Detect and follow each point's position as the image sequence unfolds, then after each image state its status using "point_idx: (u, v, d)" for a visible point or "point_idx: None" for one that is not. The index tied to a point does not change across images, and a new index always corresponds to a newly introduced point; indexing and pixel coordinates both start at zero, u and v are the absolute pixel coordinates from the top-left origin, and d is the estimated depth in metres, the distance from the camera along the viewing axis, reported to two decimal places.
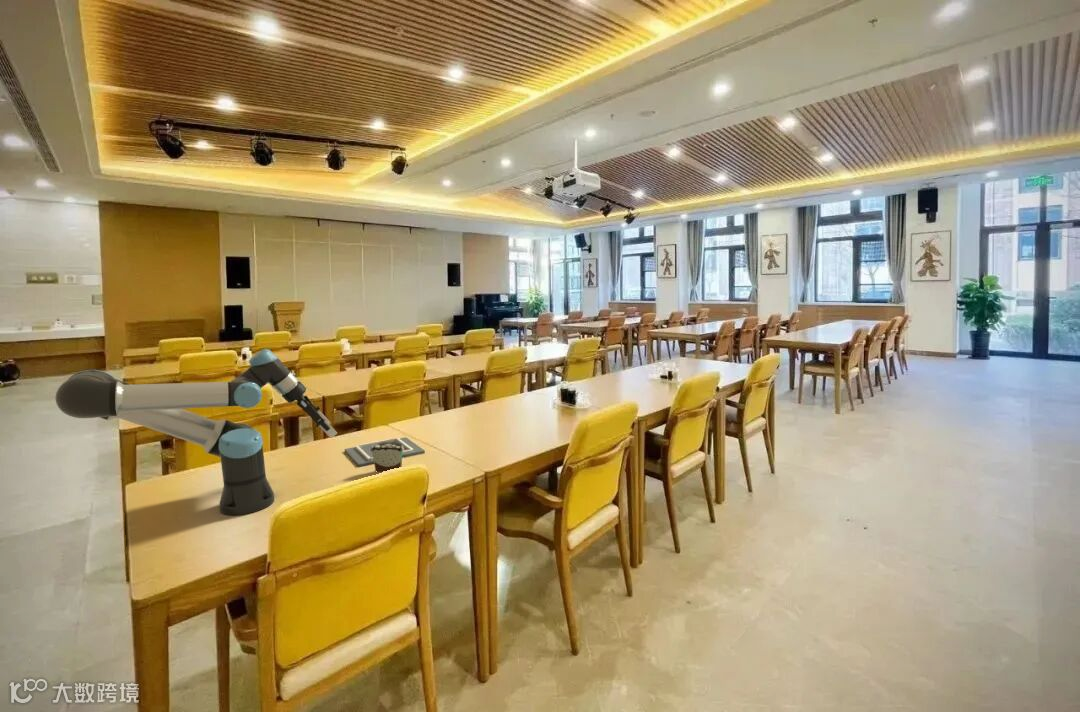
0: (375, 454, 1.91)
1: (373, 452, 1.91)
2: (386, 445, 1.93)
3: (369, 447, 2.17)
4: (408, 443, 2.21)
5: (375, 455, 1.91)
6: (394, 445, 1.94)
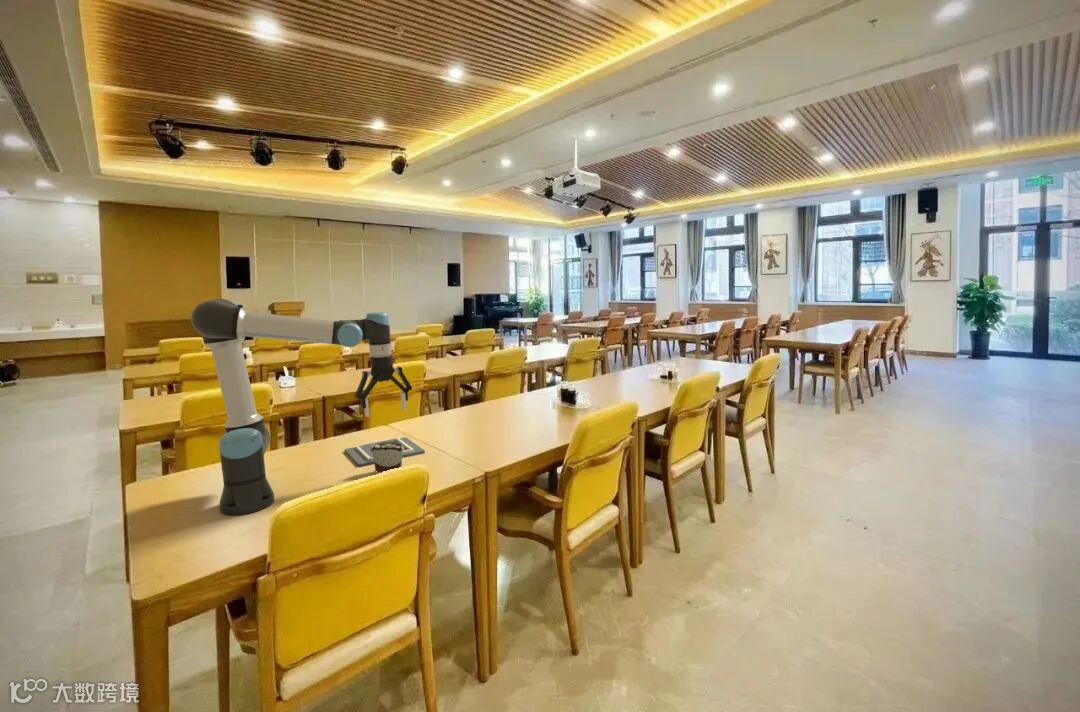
0: (375, 454, 1.91)
1: (373, 452, 1.91)
2: (386, 445, 1.93)
3: (369, 447, 2.17)
4: (408, 443, 2.21)
5: (375, 455, 1.91)
6: (394, 445, 1.94)
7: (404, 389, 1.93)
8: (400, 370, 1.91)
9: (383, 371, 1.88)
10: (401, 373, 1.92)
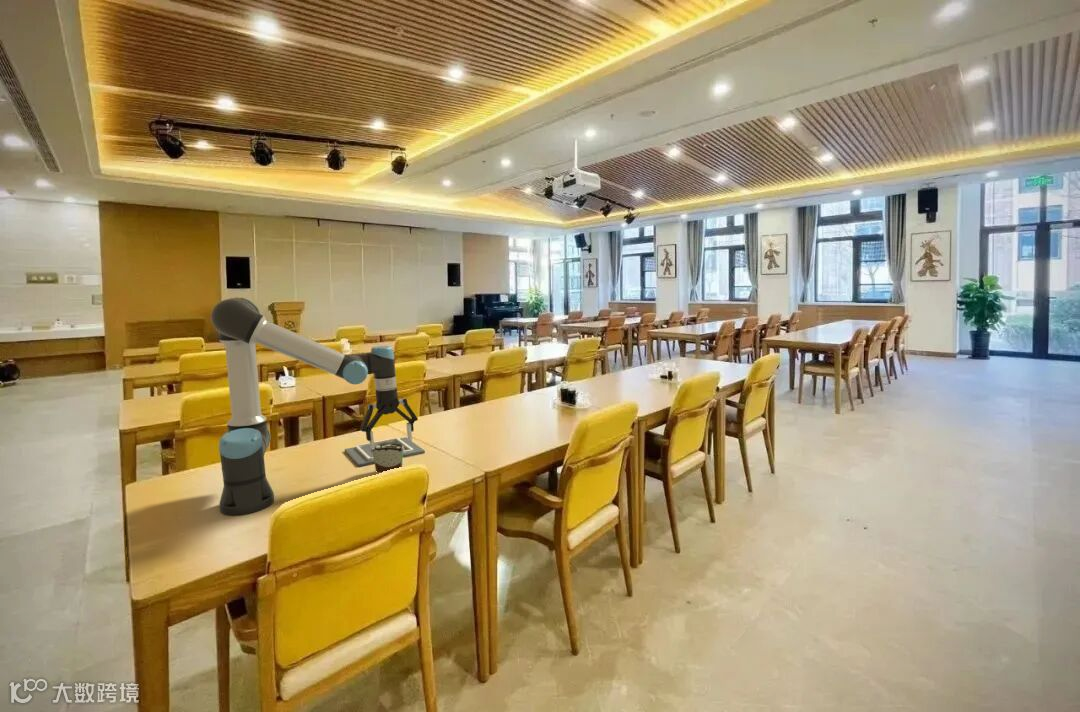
0: (375, 454, 1.91)
1: (373, 452, 1.91)
2: (386, 445, 1.93)
3: (369, 447, 2.17)
4: (408, 443, 2.21)
5: (376, 456, 1.91)
6: (394, 445, 1.94)
7: (410, 420, 1.95)
8: (405, 402, 1.93)
9: (388, 404, 1.90)
10: (406, 405, 1.93)
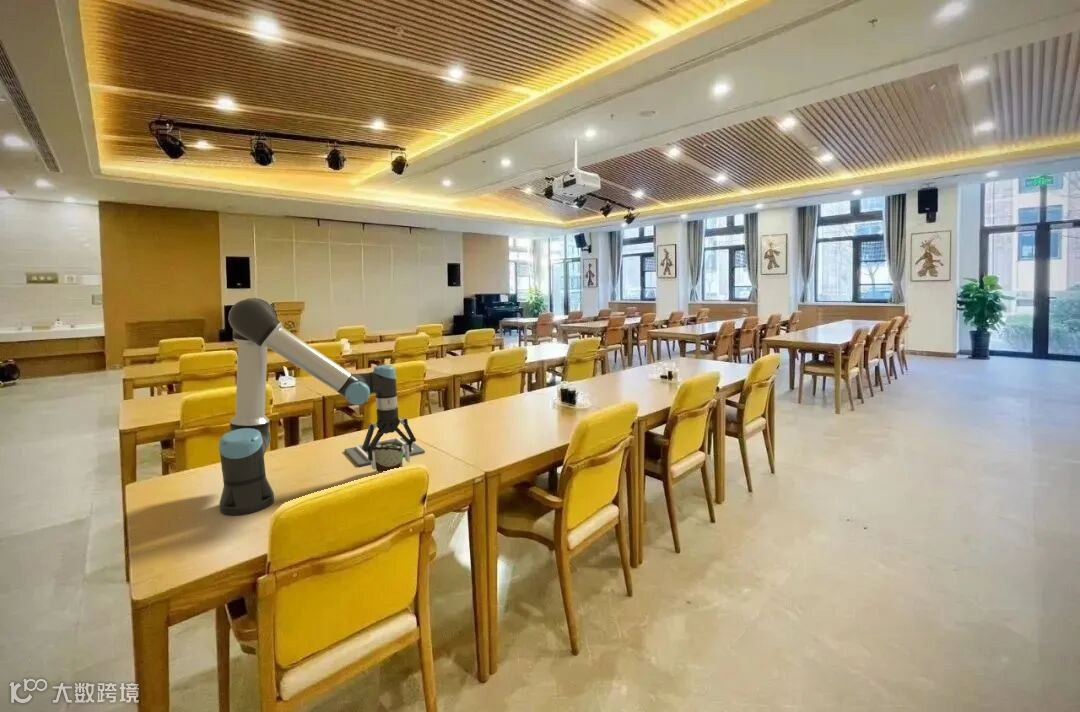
0: (376, 454, 1.91)
1: None
2: (387, 445, 1.93)
3: None
4: None
5: (376, 455, 1.91)
6: (395, 445, 1.94)
7: (408, 441, 1.96)
8: (405, 422, 1.94)
9: (389, 423, 1.91)
10: (406, 425, 1.94)
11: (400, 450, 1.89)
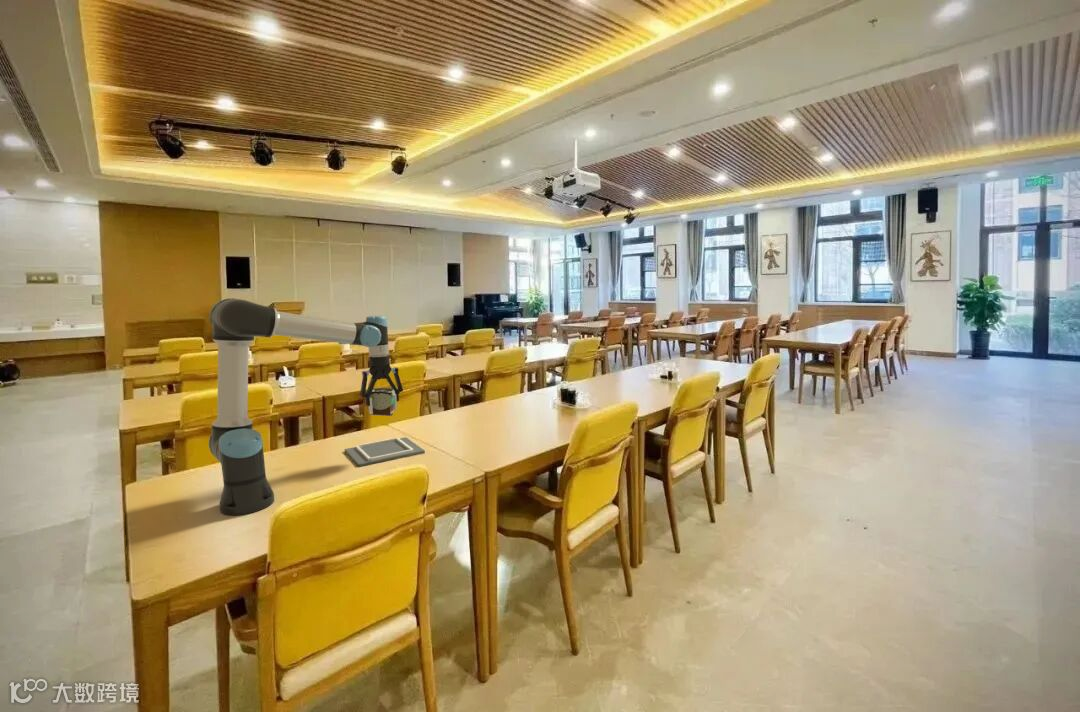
0: None
1: None
2: (380, 390, 2.08)
3: (369, 447, 2.17)
4: (408, 443, 2.21)
5: None
6: (388, 390, 2.08)
7: (396, 390, 2.09)
8: (396, 371, 2.08)
9: (381, 368, 2.04)
10: (396, 374, 2.08)
11: (390, 394, 2.03)
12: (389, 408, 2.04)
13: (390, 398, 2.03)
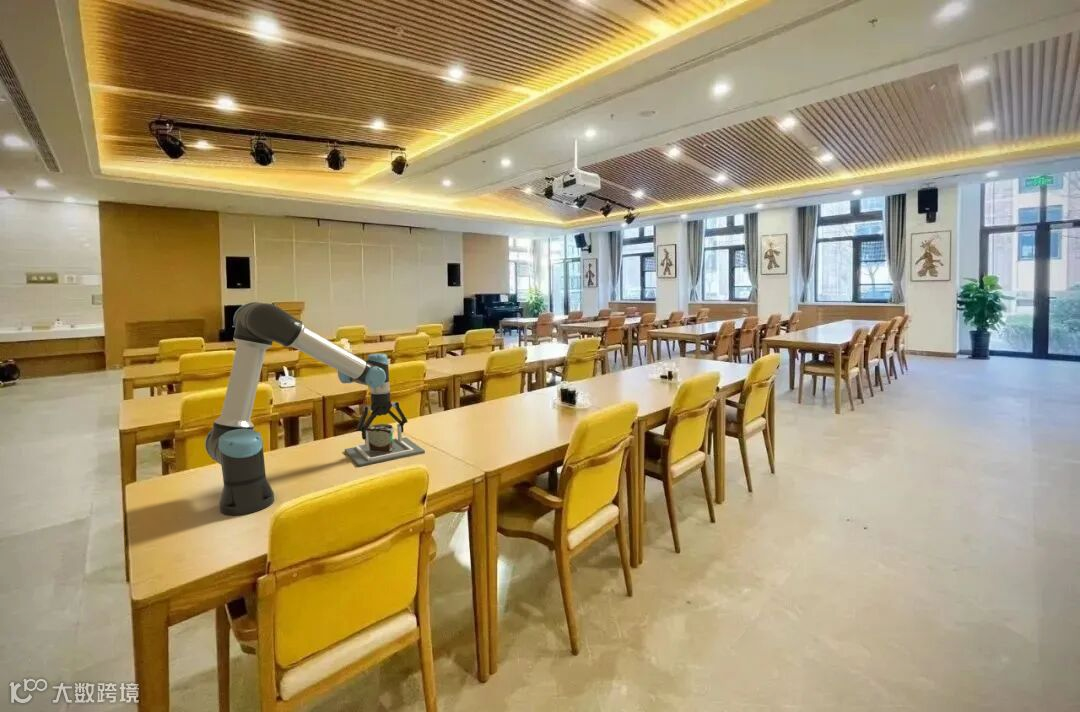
0: (369, 434, 2.11)
1: None
2: (380, 427, 2.13)
3: None
4: (408, 443, 2.21)
5: (369, 436, 2.11)
6: (387, 427, 2.13)
7: (400, 422, 2.15)
8: (397, 405, 2.13)
9: (382, 406, 2.10)
10: (398, 408, 2.14)
11: (389, 432, 2.08)
12: (388, 445, 2.09)
13: (389, 436, 2.09)
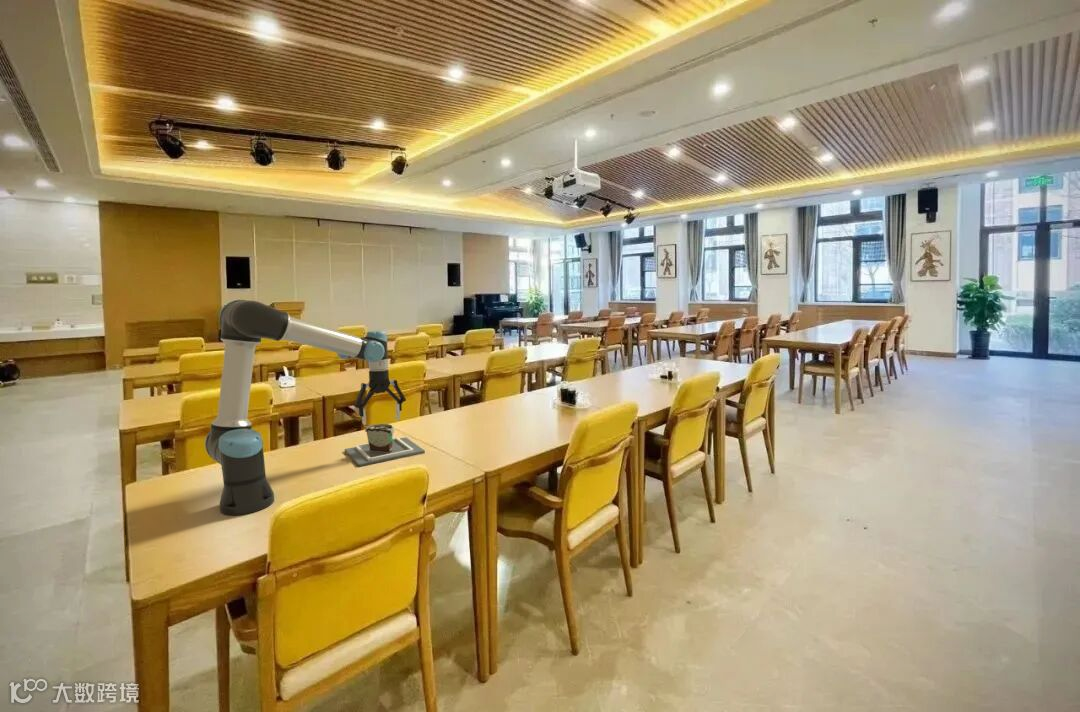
0: (369, 434, 2.11)
1: (367, 433, 2.11)
2: (380, 427, 2.13)
3: None
4: (408, 443, 2.21)
5: (369, 436, 2.11)
6: (387, 427, 2.13)
7: (398, 400, 2.13)
8: (395, 383, 2.12)
9: (380, 384, 2.08)
10: (396, 386, 2.12)
11: (389, 432, 2.08)
12: (388, 445, 2.09)
13: (389, 436, 2.09)
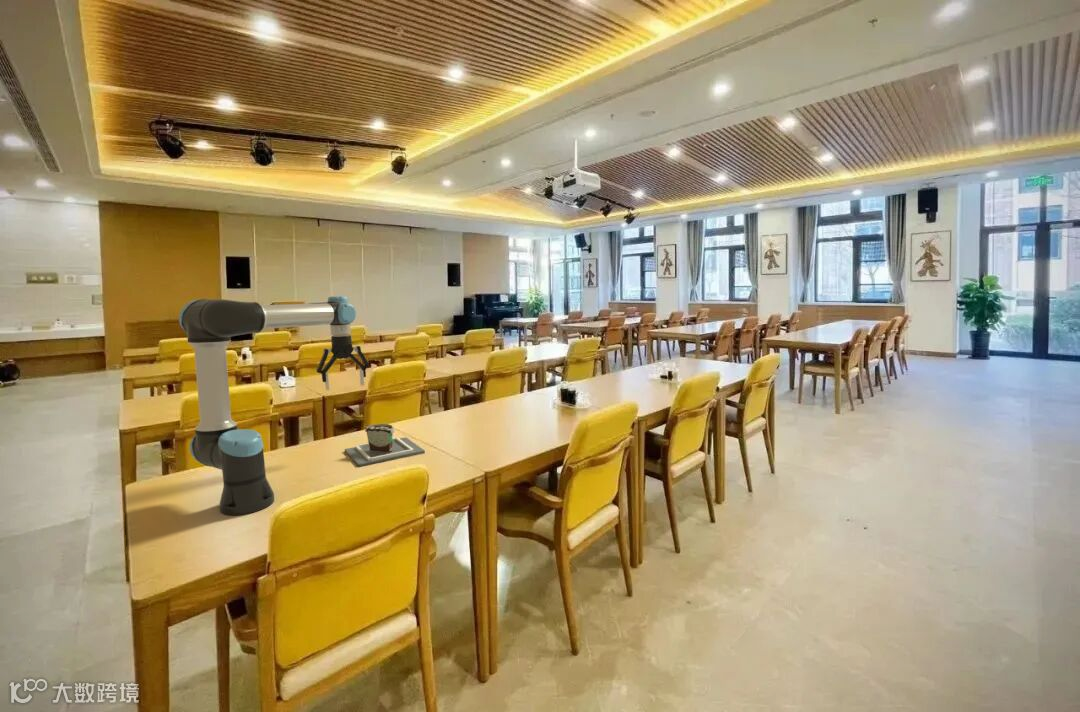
0: (369, 434, 2.11)
1: (367, 433, 2.11)
2: (380, 427, 2.13)
3: None
4: (408, 443, 2.21)
5: (369, 436, 2.11)
6: (387, 427, 2.13)
7: (362, 366, 2.14)
8: (359, 349, 2.12)
9: (342, 349, 2.09)
10: (359, 352, 2.12)
11: (389, 432, 2.08)
12: (388, 445, 2.09)
13: (389, 436, 2.09)
